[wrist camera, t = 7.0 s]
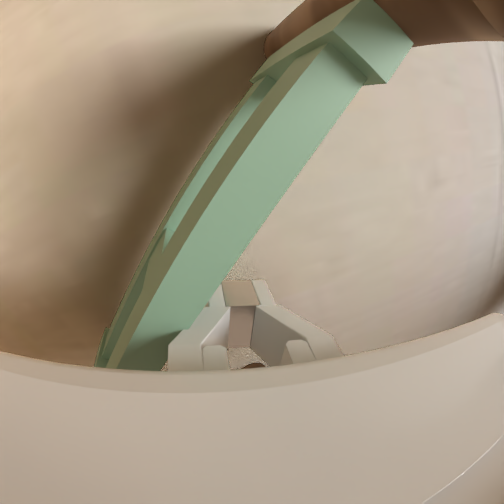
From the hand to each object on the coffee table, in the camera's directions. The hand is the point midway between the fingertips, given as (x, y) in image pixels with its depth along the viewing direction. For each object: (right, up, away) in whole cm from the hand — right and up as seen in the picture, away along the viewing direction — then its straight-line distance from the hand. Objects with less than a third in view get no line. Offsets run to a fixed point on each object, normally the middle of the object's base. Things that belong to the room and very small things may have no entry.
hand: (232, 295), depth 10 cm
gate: (-3, +3, +3) cm, 5 cm away
